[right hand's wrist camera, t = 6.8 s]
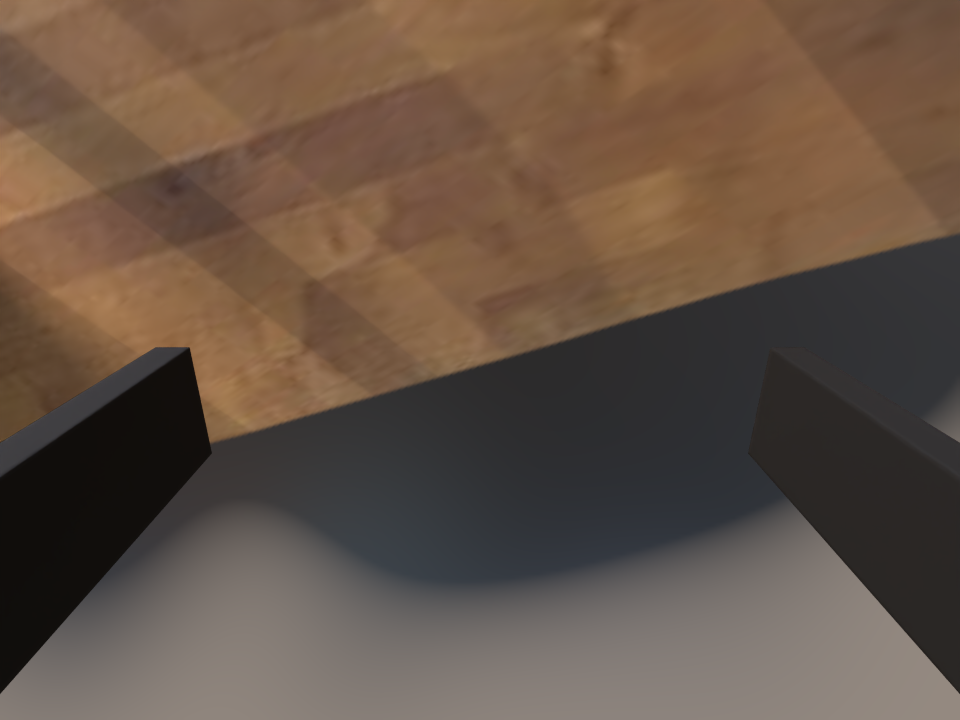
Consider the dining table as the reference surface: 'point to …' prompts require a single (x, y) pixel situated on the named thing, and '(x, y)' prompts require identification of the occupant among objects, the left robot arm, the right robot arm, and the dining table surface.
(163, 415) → the right robot arm
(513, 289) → the dining table surface
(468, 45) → the dining table surface
